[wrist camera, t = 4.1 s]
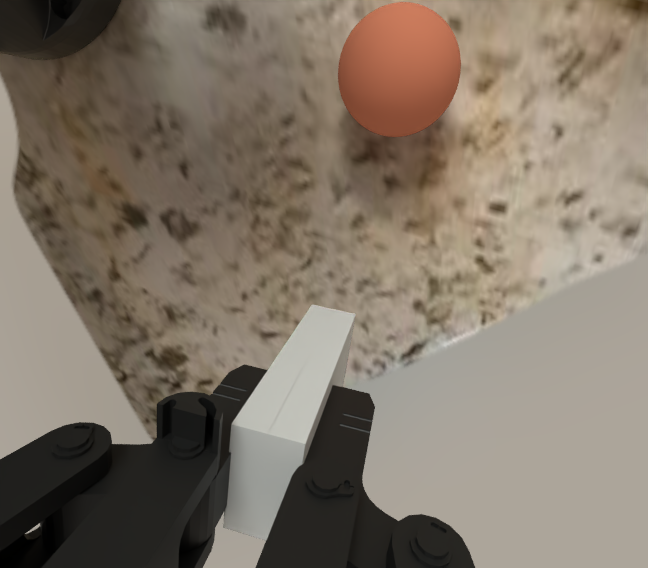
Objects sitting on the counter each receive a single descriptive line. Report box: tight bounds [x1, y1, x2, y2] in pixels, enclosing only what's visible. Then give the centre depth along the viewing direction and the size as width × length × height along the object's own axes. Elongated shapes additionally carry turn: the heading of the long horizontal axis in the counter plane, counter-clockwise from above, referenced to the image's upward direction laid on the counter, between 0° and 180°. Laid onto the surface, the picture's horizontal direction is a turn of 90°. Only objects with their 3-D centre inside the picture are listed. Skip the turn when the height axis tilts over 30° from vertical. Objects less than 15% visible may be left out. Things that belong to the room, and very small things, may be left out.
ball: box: [338, 2, 461, 137], centre depth 22 cm, size 6×6×6 cm
